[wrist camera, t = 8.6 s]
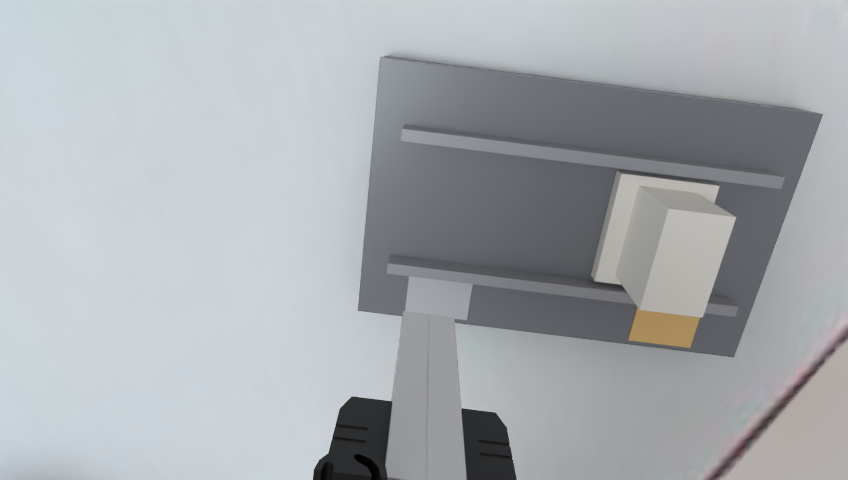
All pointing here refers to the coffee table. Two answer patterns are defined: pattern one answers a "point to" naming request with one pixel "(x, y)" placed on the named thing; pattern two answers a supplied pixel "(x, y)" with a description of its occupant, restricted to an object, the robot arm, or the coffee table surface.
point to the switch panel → (559, 199)
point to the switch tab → (663, 241)
